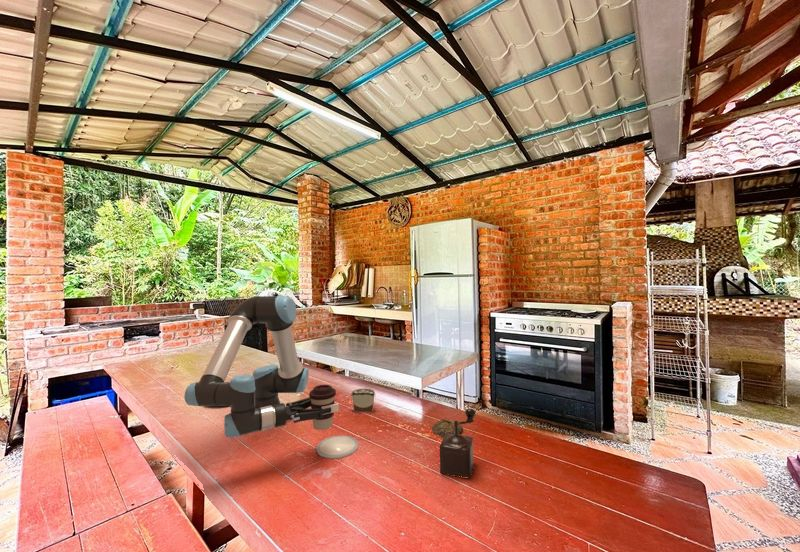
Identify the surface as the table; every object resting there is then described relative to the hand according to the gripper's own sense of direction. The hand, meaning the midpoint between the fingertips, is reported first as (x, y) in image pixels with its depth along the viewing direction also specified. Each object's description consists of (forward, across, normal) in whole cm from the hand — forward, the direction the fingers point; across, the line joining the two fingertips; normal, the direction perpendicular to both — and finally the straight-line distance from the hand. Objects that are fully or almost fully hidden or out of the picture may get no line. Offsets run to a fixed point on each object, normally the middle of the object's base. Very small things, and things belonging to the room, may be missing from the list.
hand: (334, 402), depth 127 cm
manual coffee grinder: (+34, +34, -18) cm, 51 cm away
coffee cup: (-5, 0, -8) cm, 9 cm away
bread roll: (+46, +12, -18) cm, 51 cm away
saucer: (+1, 0, -18) cm, 18 cm away
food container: (+26, -28, -18) cm, 42 cm away
